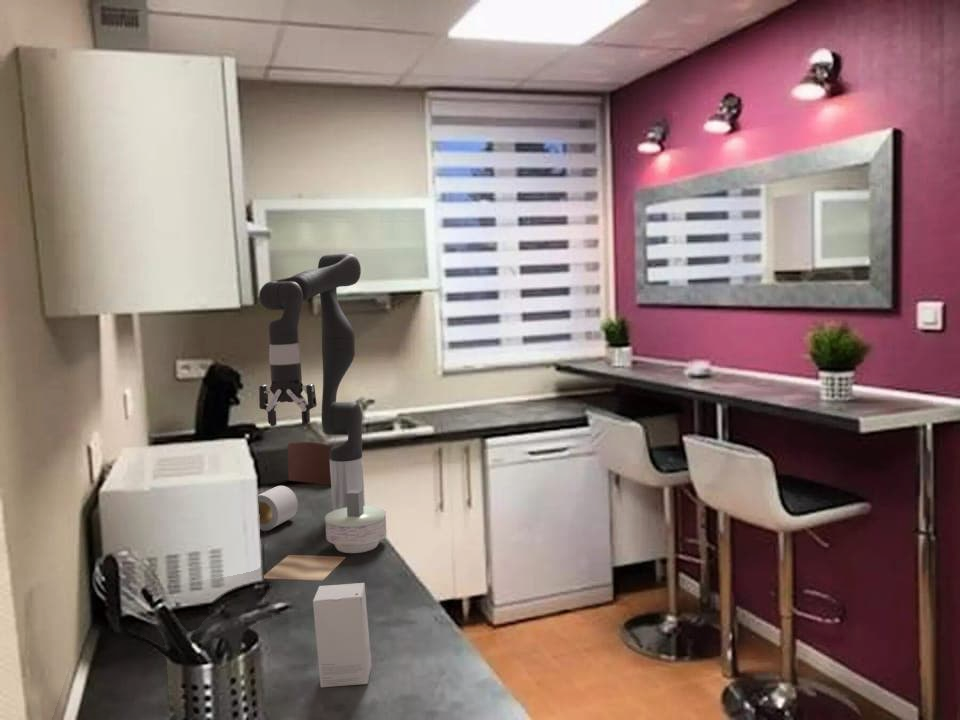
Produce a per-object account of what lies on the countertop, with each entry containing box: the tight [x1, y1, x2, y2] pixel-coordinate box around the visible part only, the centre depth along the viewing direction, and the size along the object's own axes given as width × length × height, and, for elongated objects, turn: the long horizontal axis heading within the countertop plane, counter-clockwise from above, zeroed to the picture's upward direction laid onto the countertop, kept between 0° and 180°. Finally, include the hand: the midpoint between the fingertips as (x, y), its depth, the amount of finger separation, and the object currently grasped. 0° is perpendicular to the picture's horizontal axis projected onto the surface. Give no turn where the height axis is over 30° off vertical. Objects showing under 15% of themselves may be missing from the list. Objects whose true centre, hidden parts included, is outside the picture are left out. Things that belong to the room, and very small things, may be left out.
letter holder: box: [287, 441, 334, 486], centre depth 270 cm, size 10×20×14 cm, turn 64°
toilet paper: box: [258, 485, 299, 532], centre depth 221 cm, size 10×10×10 cm
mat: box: [263, 554, 347, 582], centre depth 186 cm, size 15×15×1 cm
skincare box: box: [312, 582, 372, 688], centre depth 134 cm, size 8×7×16 cm
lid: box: [324, 490, 387, 527], centre depth 199 cm, size 15×15×7 cm
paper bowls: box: [325, 517, 388, 554], centre depth 200 cm, size 15×15×8 cm
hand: (289, 425), depth 199 cm, fingers open, 8 cm apart
